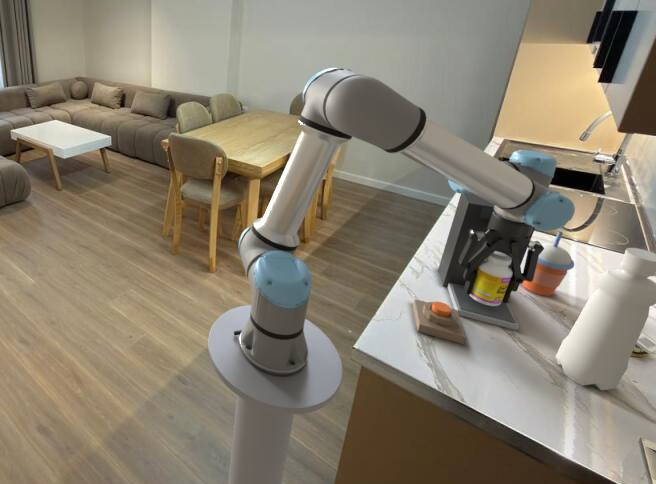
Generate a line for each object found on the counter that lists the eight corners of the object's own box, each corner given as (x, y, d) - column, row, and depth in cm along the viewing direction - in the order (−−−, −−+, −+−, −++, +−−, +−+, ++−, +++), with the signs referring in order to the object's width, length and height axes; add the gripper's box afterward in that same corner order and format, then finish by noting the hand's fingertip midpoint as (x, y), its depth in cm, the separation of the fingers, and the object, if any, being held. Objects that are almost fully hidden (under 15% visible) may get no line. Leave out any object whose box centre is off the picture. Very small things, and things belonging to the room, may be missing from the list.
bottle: (544, 352, 88) (597, 237, 78) (600, 366, 85) (662, 247, 74) (564, 384, 81) (625, 262, 70) (626, 401, 77) (700, 274, 67)
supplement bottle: (493, 310, 96) (510, 267, 92) (462, 295, 102) (476, 253, 97) (505, 301, 99) (522, 258, 95) (474, 286, 105) (489, 245, 100)
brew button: (432, 314, 95) (434, 308, 94) (430, 305, 98) (431, 299, 97) (450, 319, 93) (452, 313, 93) (447, 309, 96) (449, 304, 96)
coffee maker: (451, 313, 100) (481, 224, 91) (437, 270, 117) (461, 191, 108) (522, 331, 94) (562, 238, 85) (497, 283, 111) (528, 201, 102)
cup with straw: (530, 276, 114) (552, 221, 107) (568, 296, 105) (595, 238, 99) (506, 281, 112) (527, 226, 105) (544, 302, 103) (570, 244, 97)
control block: (417, 331, 94) (421, 318, 93) (412, 305, 103) (416, 293, 101) (463, 344, 91) (468, 331, 89) (454, 316, 99) (458, 303, 98)
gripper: (465, 213, 93) (440, 292, 101) (578, 232, 85) (541, 317, 93) (458, 201, 99) (436, 276, 107) (562, 217, 91) (529, 297, 99)
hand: (484, 295), depth 100 cm, fingers closed on supplement bottle, 7 cm apart
